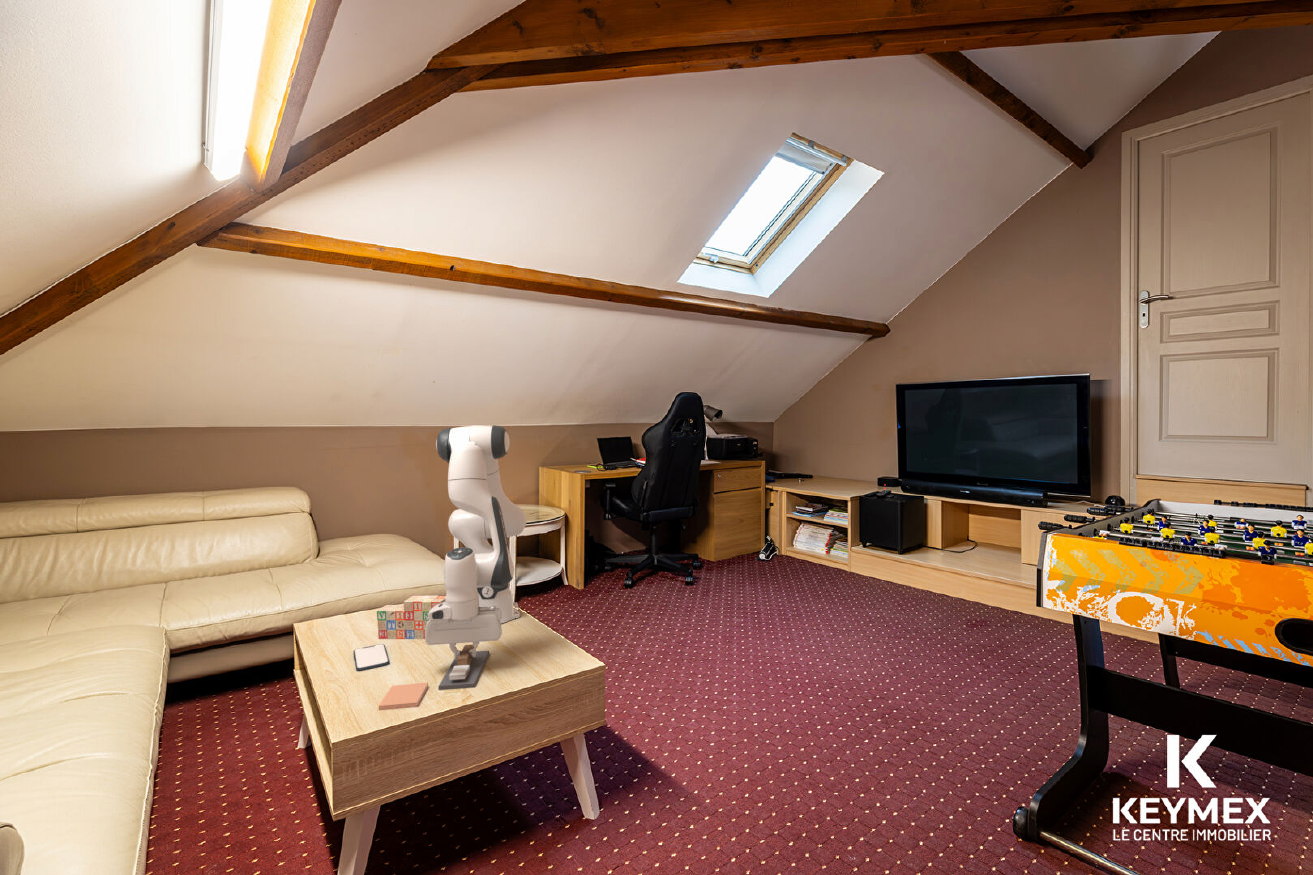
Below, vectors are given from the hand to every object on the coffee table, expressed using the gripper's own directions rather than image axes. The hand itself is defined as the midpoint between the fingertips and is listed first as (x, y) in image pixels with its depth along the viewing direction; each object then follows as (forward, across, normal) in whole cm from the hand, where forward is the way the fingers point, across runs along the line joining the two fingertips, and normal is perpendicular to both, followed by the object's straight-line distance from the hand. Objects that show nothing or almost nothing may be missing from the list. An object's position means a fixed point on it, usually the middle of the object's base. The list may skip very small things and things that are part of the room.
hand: (465, 657), depth 171 cm
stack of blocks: (+4, +23, -31) cm, 38 cm away
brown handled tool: (+2, 0, +2) cm, 3 cm away
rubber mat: (+4, 0, 0) cm, 4 cm away
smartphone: (+4, +30, -13) cm, 33 cm away
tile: (+3, +12, +9) cm, 16 cm away
